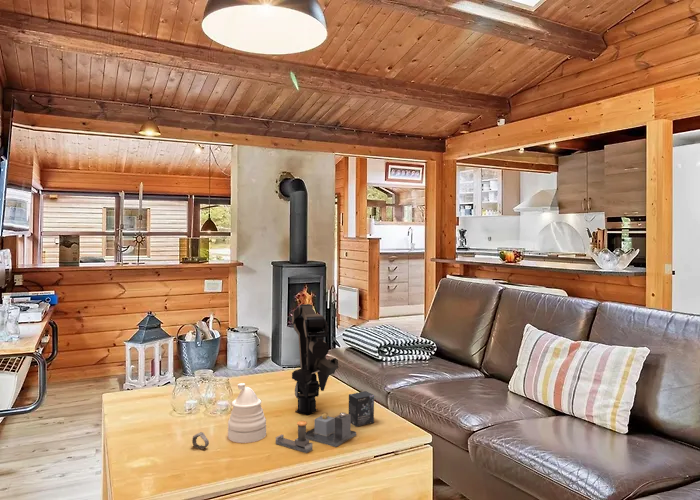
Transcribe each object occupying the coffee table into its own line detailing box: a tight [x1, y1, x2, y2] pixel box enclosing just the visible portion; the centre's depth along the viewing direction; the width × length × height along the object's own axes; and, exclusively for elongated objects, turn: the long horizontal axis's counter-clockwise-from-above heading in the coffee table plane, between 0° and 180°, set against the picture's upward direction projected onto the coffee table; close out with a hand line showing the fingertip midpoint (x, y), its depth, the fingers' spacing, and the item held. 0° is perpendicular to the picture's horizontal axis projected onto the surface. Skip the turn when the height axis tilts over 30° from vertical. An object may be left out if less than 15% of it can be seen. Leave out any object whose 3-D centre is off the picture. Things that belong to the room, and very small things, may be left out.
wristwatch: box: [191, 431, 210, 450], centre depth 166 cm, size 4×6×5 cm, turn 60°
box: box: [348, 390, 375, 428], centre depth 188 cm, size 8×6×11 cm
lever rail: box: [275, 434, 313, 454], centre depth 167 cm, size 13×3×2 cm, turn 56°
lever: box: [294, 420, 310, 447], centre depth 165 cm, size 4×3×7 cm
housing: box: [314, 413, 335, 435], centre depth 176 cm, size 5×5×6 cm
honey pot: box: [227, 382, 267, 444], centre depth 176 cm, size 13×13×18 cm
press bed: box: [306, 411, 357, 448], centre depth 175 cm, size 14×12×9 cm
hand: (314, 394), depth 184 cm, fingers open, 9 cm apart
